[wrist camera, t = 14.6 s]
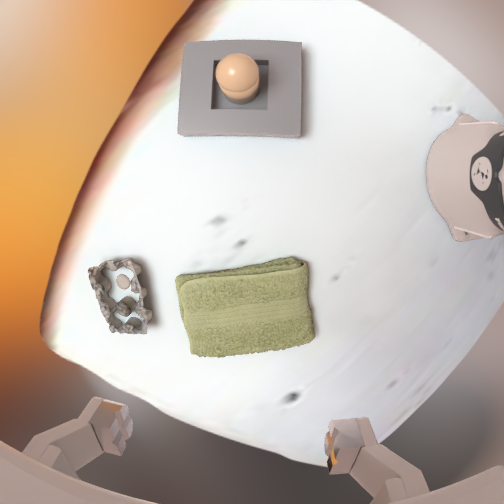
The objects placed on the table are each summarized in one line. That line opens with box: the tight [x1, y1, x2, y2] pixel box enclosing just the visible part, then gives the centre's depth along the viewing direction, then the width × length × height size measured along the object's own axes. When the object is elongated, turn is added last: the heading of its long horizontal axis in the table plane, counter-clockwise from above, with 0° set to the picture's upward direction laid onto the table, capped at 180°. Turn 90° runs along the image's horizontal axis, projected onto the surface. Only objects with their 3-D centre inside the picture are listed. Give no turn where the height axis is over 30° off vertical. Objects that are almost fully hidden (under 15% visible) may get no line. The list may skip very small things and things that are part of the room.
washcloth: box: [175, 257, 315, 358], centre depth 40 cm, size 13×18×3 cm
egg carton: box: [88, 258, 153, 334], centre depth 39 cm, size 11×8×4 cm
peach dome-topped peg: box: [216, 53, 259, 105], centre depth 28 cm, size 4×4×8 cm
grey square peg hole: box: [178, 40, 302, 138], centre depth 32 cm, size 14×12×3 cm
